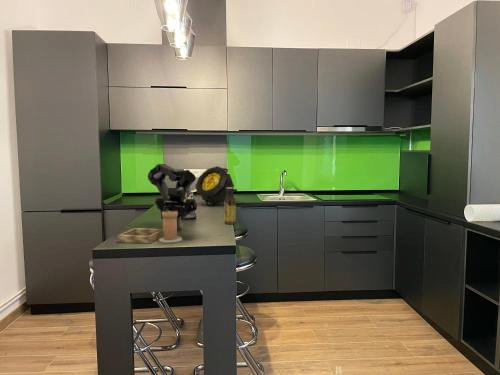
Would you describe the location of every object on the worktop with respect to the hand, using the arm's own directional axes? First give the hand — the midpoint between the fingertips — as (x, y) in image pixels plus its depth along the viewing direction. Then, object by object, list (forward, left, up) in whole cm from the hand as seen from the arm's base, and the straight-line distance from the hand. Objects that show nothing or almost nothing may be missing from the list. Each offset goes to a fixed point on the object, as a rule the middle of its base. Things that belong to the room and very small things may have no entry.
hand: (171, 219), depth 160 cm
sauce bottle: (-18, -40, -9) cm, 44 cm away
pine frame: (+14, +1, -9) cm, 16 cm away
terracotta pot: (0, +2, -8) cm, 9 cm away
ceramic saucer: (0, +2, -9) cm, 9 cm away
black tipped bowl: (+7, -111, -9) cm, 111 cm away
